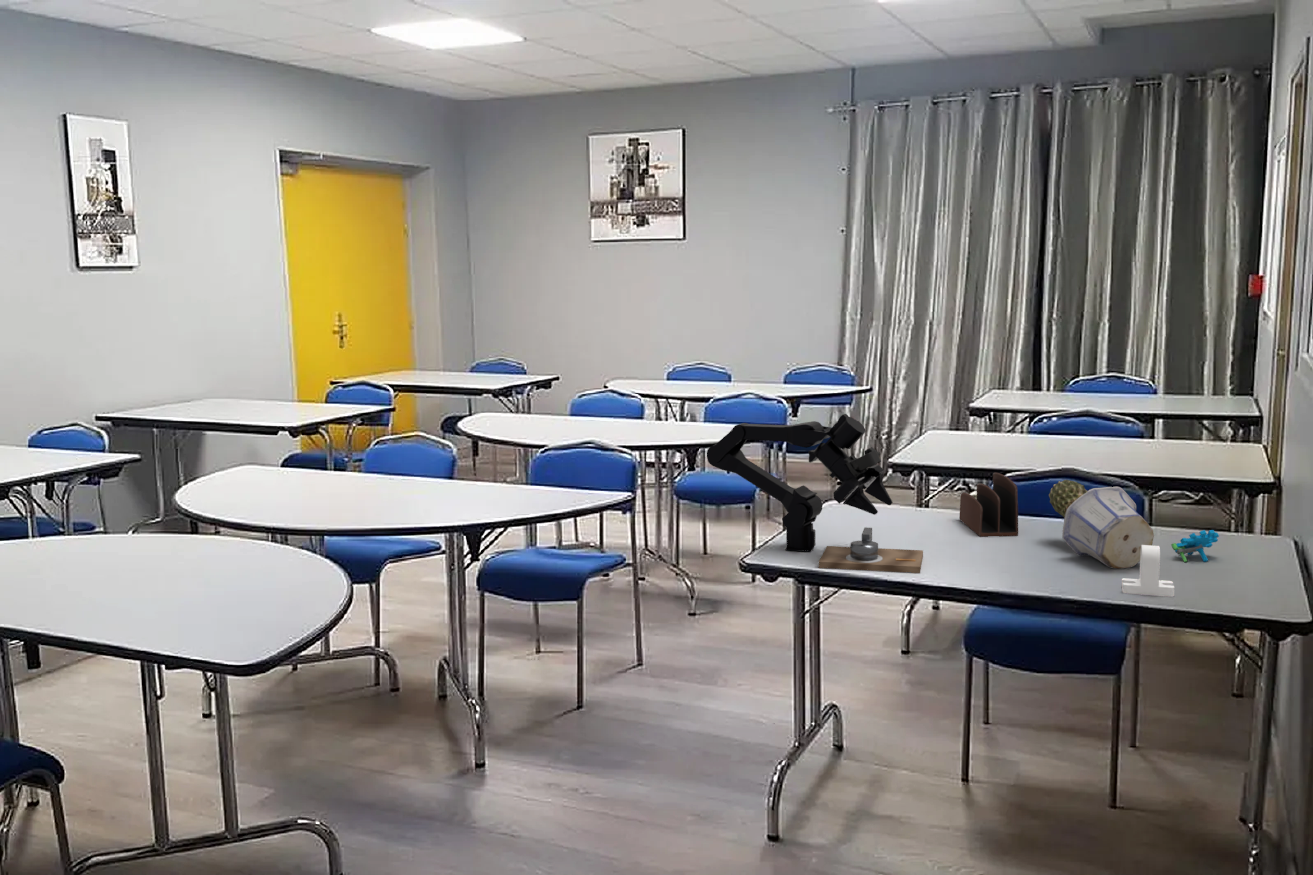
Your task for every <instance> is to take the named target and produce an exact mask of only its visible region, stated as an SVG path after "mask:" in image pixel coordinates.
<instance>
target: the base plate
mask: <svg viewBox="0 0 1313 875" xmlns="http://www.w3.org/2000/svg"><path fill="white" fill-rule="evenodd" d="M923 558H924V549H901V548H899V549H898V548H880V547H878V558H876V559H872V560H859V559H854V558H852V557H851V556H850V546H836V545H833V546H832V545H826V547H825V549H824V550H823V552H822V554H821V556H820V558H819V560H818V568H819V569H829V570H830V569H832V570H847V571H848V570H849V571H850V570H852V571H853V570H854V571H871V572H874V571H875V572H891V573H893V572H894V573H906V572H911V573H910V574H920V573H921V570H922V565H923V560H924V559H923Z"/></svg>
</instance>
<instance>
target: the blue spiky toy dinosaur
mask: <svg viewBox="0 0 1313 875" xmlns="http://www.w3.org/2000/svg"><path fill="white" fill-rule="evenodd" d="M1219 537H1220V535H1219V533H1218V532H1217V531H1215V529H1211V530H1210V529H1209V530H1208V531H1206V530H1205V529H1203V530H1201V531H1199V535H1196V533H1195V532H1192V533H1190V534H1189V535H1188V538H1187V537H1182V538H1181V539H1180V540H1179V541H1180V542H1178V543H1174V542H1173V543H1172V544H1170V545H1171V547H1172V549H1173V551H1174V552H1175V553H1176V554H1177V555H1179V556H1180V557H1181V559H1182V560H1183V563H1187V562H1188V560H1187V557H1186V556H1185V555H1186V554H1187V555H1188V556H1190V555H1193V554H1194V553H1196V552H1198V554H1199V555H1200V557H1201V559H1202V562H1204V563H1206V562H1208V561H1209V559H1208V557H1207V555H1206V553H1205V551H1204V548H1208V549H1209V548H1211V547H1212V546H1213V543H1217V542H1218V540H1219V539H1218V538H1219Z"/></svg>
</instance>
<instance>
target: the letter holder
mask: <svg viewBox="0 0 1313 875" xmlns="http://www.w3.org/2000/svg"><path fill="white" fill-rule="evenodd" d="M1018 496H1019V495H1018V486H1017V484H1016V483H1015V482H1014V481H1013V480H1012V479H1011V478H1009V477H1008V476H1006V475H1004V474H1002V473H999V472H993V474H992V488H991V487H990V486H988V485H986V484H984V483H977V484H976V498H975V497H974V496H973V495H971V494H969V493H966V492H961V493H960V499H959V500H960V502H959V520H960V521H961V523H963V524H964V525H966V527H968V528H969V529H970V530H972V531H973V532H974V534H976V535H977V536H979V538H986V537H987V538H988V536H999V537H1018V536H1019V501H1018Z"/></svg>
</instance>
